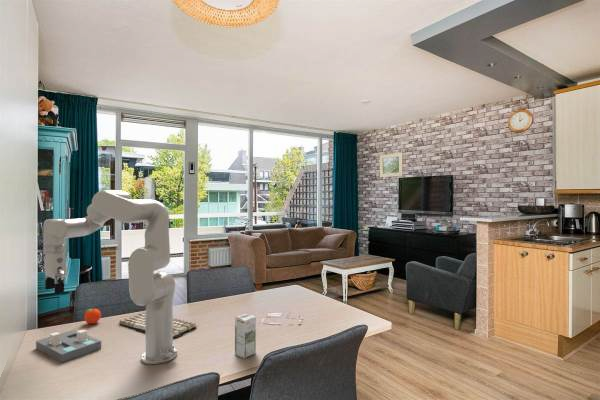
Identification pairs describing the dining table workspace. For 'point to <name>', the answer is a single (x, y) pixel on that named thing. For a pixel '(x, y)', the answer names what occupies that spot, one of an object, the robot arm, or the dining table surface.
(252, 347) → the syrup box
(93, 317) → the clementine
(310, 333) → the dining table surface
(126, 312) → the dining table surface
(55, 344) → the tab
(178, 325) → the mechanical keyboard
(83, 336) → the tab
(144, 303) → the robot arm
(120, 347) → the dining table surface
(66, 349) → the switch panel
